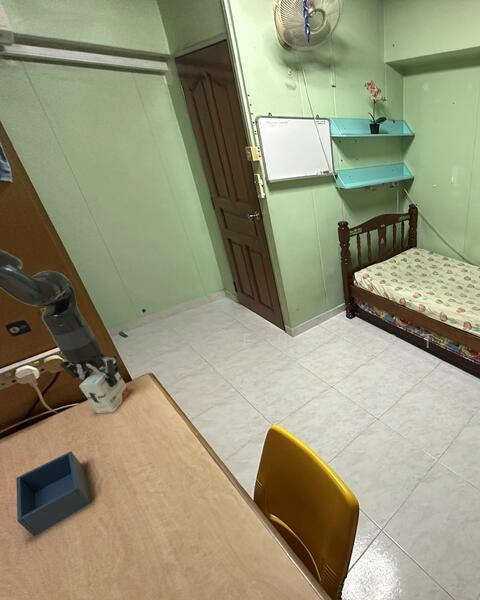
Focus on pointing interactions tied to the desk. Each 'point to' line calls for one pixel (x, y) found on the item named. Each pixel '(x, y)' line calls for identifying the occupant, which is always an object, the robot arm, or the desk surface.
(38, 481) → the bin
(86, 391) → the ink box
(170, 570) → the desk surface
